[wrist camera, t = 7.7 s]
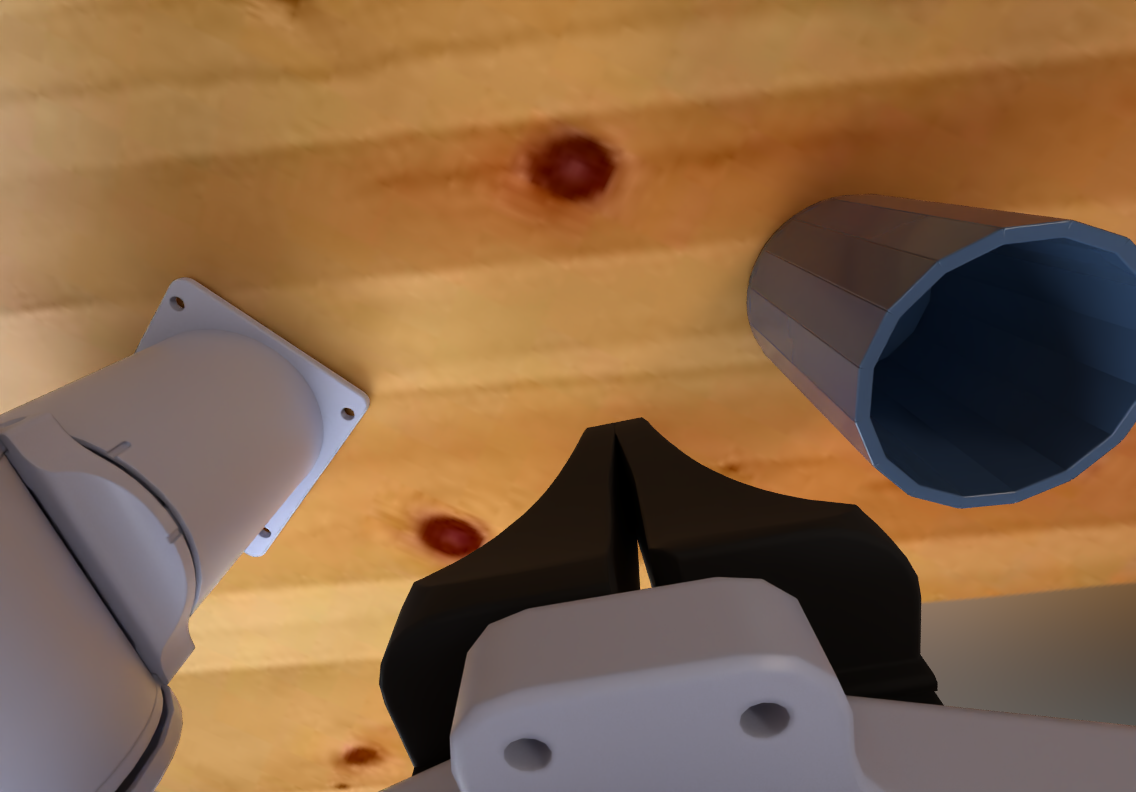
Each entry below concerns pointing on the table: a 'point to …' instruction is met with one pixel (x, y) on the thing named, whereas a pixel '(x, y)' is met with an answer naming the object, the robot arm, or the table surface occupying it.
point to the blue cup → (954, 340)
